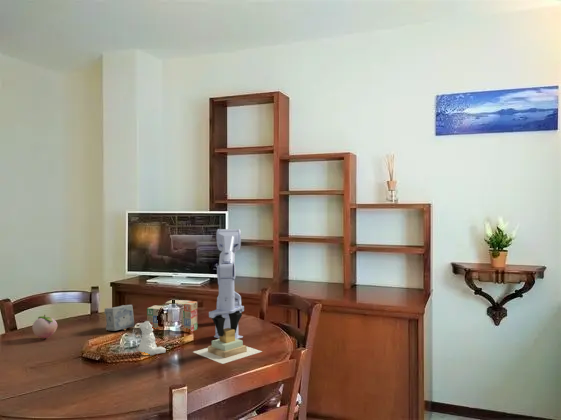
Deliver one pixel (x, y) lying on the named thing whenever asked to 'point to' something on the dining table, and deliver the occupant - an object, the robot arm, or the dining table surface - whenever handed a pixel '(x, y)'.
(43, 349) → the dining table surface
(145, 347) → the white creature statuette
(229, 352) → the oak base block
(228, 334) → the ochre cube
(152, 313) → the stack of blocks
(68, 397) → the dining table surface
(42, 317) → the decorative fruit
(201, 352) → the linen mat
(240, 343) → the sage top block
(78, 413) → the dining table surface
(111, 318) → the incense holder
